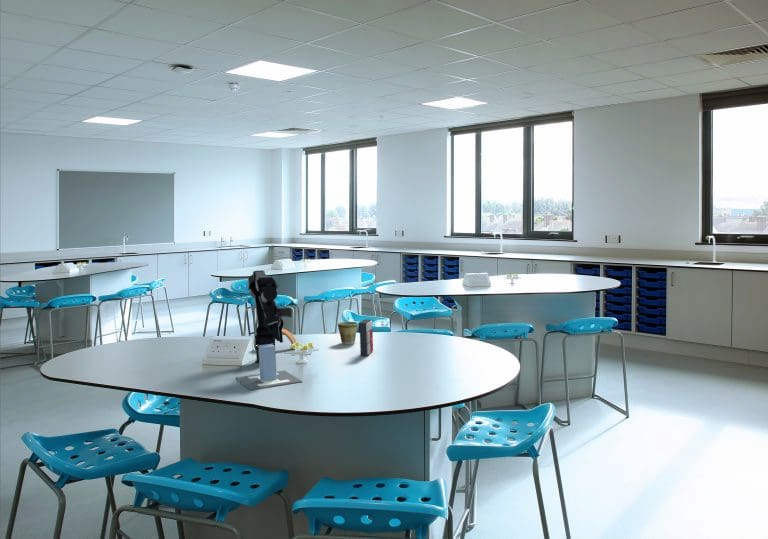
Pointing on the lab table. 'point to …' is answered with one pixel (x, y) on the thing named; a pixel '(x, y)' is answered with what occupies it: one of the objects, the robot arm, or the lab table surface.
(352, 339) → the ceramic cup
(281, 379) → the letter mat
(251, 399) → the lab table surface
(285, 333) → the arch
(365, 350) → the black and red box
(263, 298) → the robot arm
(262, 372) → the blue block
